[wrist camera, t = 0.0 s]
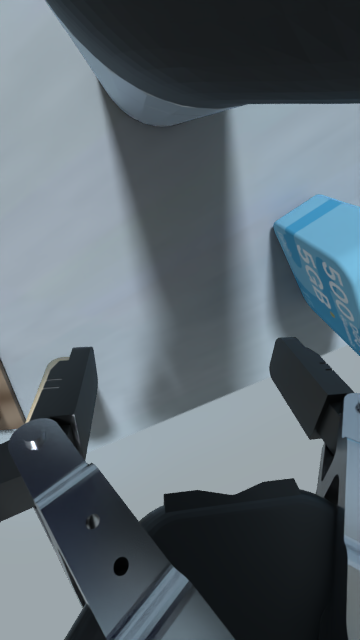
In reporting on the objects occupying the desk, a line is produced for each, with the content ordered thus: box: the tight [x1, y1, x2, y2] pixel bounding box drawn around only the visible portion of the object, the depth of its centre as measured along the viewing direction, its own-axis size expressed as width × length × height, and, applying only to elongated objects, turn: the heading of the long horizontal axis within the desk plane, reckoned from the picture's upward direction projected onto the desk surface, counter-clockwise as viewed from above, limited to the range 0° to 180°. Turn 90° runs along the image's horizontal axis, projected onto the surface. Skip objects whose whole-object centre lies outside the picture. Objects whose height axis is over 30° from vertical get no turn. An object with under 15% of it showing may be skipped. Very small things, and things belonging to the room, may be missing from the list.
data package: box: [274, 194, 360, 356], centre depth 24 cm, size 12×4×12 cm, turn 34°
